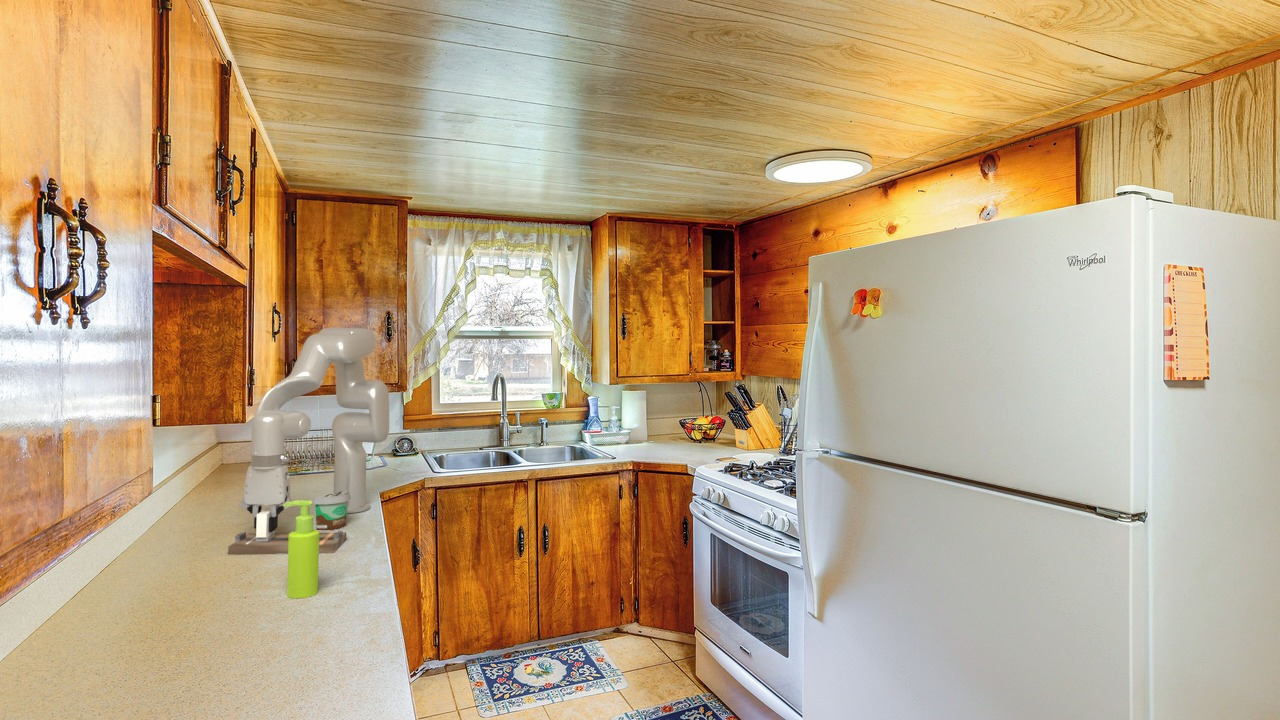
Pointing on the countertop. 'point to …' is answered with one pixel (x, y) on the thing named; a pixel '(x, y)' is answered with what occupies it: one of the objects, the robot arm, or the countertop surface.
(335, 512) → the food container
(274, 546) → the slider board
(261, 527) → the block
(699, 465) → the countertop surface
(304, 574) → the soap dispenser
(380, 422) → the robot arm
